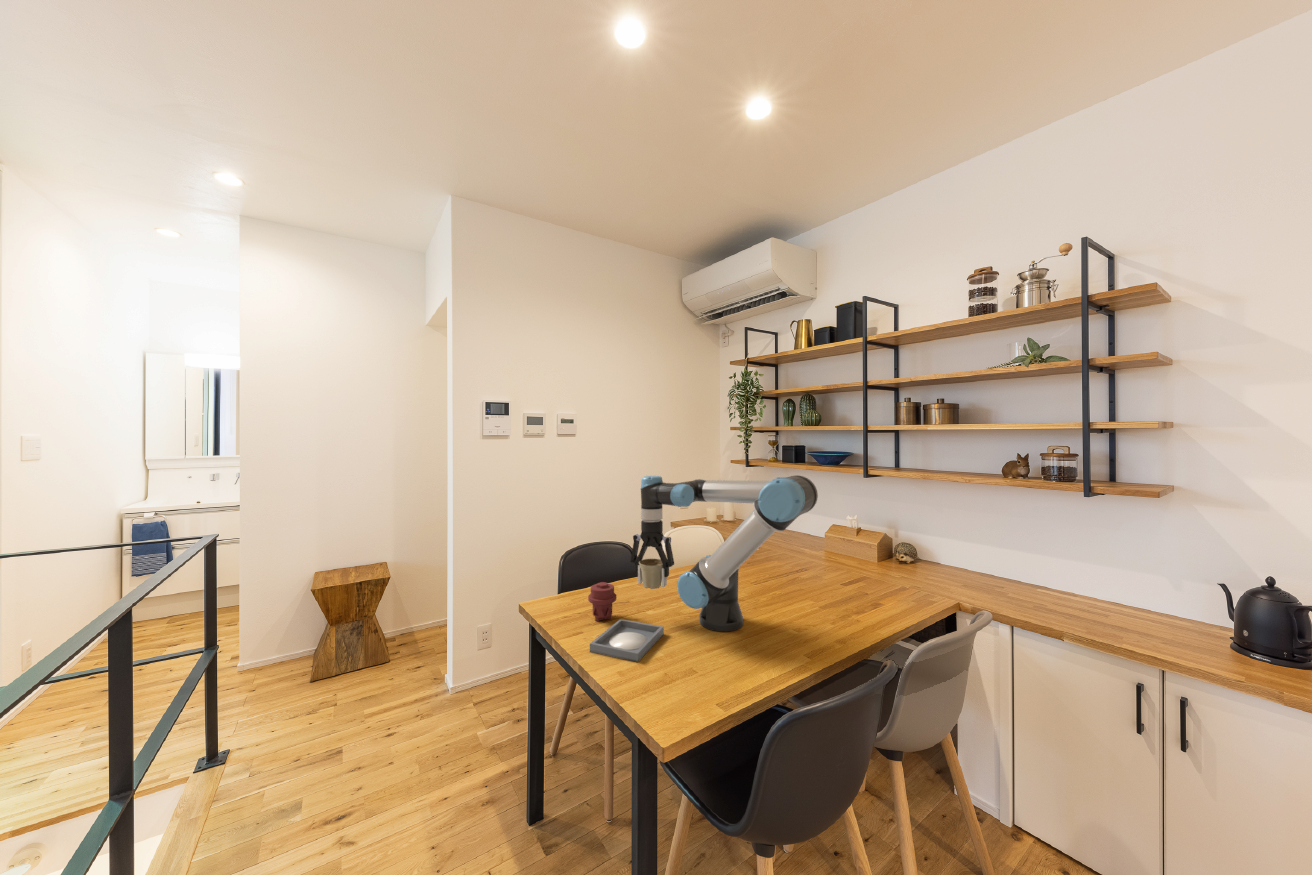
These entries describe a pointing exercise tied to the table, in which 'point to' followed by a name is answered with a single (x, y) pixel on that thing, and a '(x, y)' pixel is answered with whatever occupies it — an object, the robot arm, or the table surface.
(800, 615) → the table surface
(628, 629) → the housing tray
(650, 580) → the flower pot
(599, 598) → the mechanical component
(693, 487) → the robot arm
